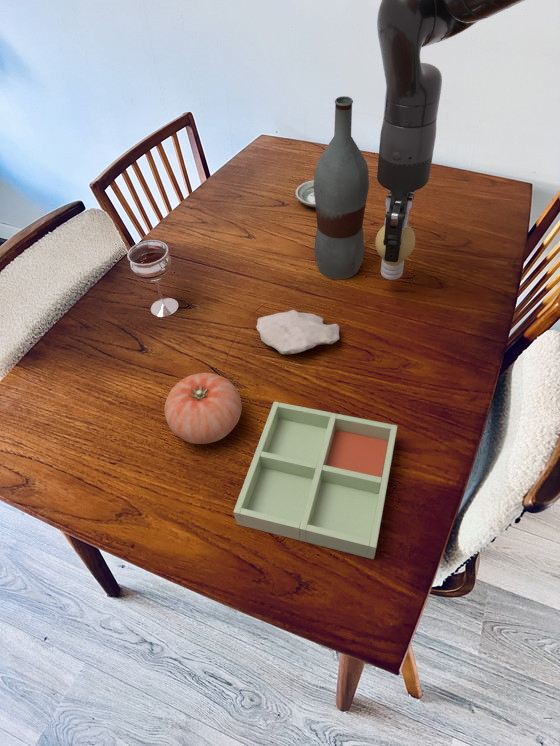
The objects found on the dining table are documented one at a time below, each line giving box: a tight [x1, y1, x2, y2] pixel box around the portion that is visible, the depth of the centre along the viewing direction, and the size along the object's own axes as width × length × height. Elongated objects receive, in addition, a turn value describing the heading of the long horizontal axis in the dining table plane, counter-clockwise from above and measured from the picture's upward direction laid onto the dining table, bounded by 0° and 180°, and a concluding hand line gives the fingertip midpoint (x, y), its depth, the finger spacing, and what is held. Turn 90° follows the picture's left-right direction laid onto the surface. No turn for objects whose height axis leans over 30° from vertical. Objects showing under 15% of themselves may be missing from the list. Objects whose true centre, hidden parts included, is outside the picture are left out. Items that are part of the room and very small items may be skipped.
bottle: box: [313, 95, 370, 280], centre depth 87 cm, size 9×9×30 cm
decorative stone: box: [255, 309, 340, 355], centre depth 85 cm, size 11×4×15 cm
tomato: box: [163, 372, 243, 445], centre depth 73 cm, size 11×11×8 cm
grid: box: [232, 401, 398, 560], centre depth 68 cm, size 17×17×4 cm
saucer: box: [295, 179, 316, 208], centre depth 112 cm, size 10×10×2 cm
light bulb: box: [374, 224, 416, 281], centre depth 86 cm, size 6×6×10 cm
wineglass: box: [127, 239, 179, 318], centre depth 89 cm, size 7×7×12 cm
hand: (394, 247), depth 86 cm, fingers closed on light bulb, 6 cm apart
